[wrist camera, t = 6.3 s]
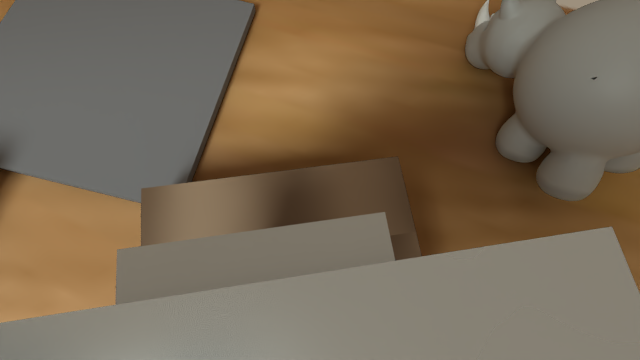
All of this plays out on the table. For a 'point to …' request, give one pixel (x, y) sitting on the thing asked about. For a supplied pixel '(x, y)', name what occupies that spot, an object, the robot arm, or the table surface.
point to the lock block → (281, 203)
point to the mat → (114, 88)
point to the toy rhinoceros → (566, 87)
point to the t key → (350, 301)
